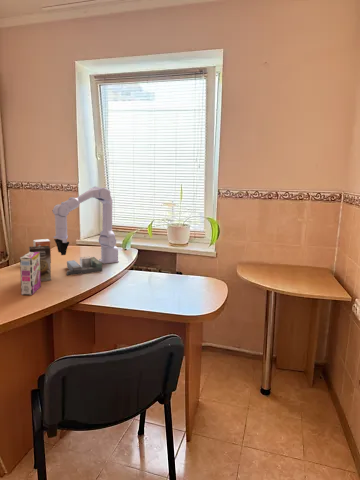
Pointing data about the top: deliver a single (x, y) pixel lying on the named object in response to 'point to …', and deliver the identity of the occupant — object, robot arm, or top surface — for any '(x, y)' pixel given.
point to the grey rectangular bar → (73, 265)
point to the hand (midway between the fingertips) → (62, 253)
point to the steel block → (85, 262)
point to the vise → (95, 266)
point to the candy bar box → (30, 273)
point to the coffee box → (43, 261)
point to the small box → (42, 244)
